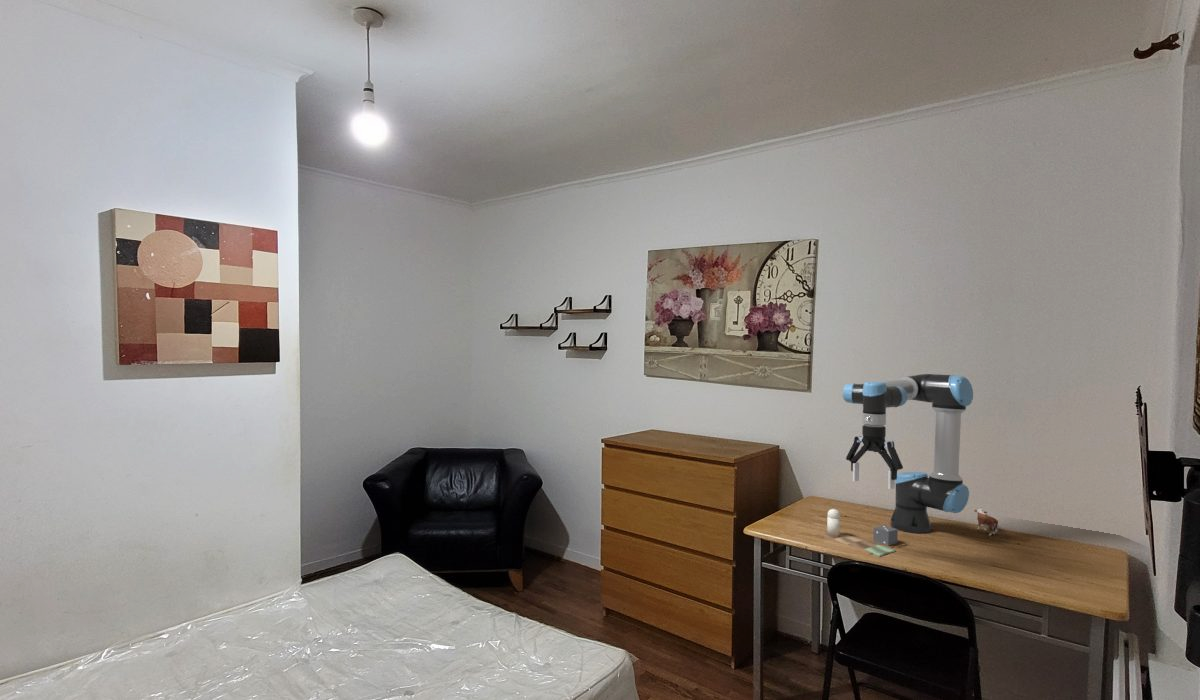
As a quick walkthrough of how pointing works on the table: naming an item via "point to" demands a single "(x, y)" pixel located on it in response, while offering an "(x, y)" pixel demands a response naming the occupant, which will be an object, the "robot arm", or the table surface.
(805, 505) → the table surface
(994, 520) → the bull figurine
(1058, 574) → the table surface
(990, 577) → the table surface
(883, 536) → the die
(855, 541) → the lane
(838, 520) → the pawn
